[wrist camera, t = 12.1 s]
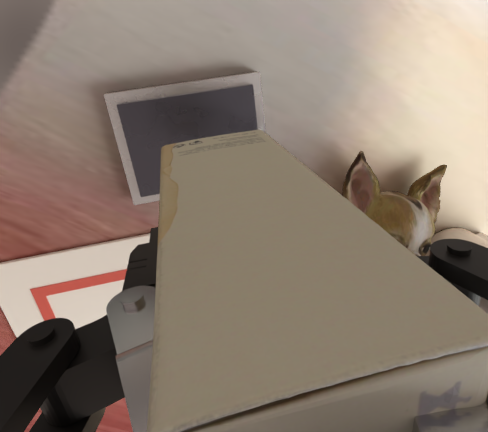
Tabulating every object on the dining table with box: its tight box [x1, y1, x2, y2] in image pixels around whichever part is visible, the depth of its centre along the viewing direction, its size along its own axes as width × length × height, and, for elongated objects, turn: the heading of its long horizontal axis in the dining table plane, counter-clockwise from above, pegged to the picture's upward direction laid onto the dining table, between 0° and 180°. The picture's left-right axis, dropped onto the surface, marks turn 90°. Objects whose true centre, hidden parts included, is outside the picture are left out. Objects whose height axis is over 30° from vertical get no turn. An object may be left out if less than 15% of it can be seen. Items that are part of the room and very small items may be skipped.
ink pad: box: [103, 72, 266, 205], centre depth 29 cm, size 12×9×2 cm
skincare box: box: [147, 130, 488, 432], centre depth 10 cm, size 6×4×12 cm
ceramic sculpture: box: [343, 151, 447, 256], centre depth 34 cm, size 11×9×15 cm
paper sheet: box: [0, 233, 150, 337], centre depth 36 cm, size 18×18×1 cm
